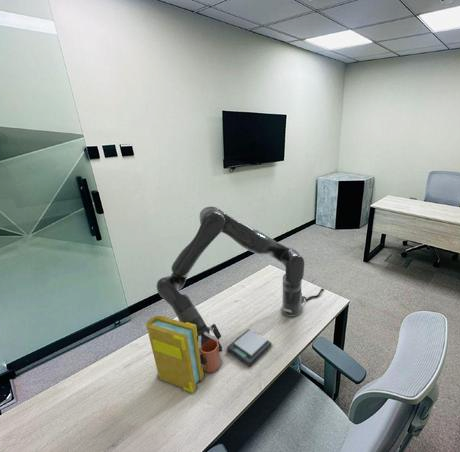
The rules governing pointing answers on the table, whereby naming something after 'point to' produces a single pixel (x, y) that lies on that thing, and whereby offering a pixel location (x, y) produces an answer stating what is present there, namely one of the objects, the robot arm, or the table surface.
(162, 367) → the book
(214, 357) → the cup
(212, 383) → the table surface
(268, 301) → the table surface
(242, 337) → the scale
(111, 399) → the table surface
